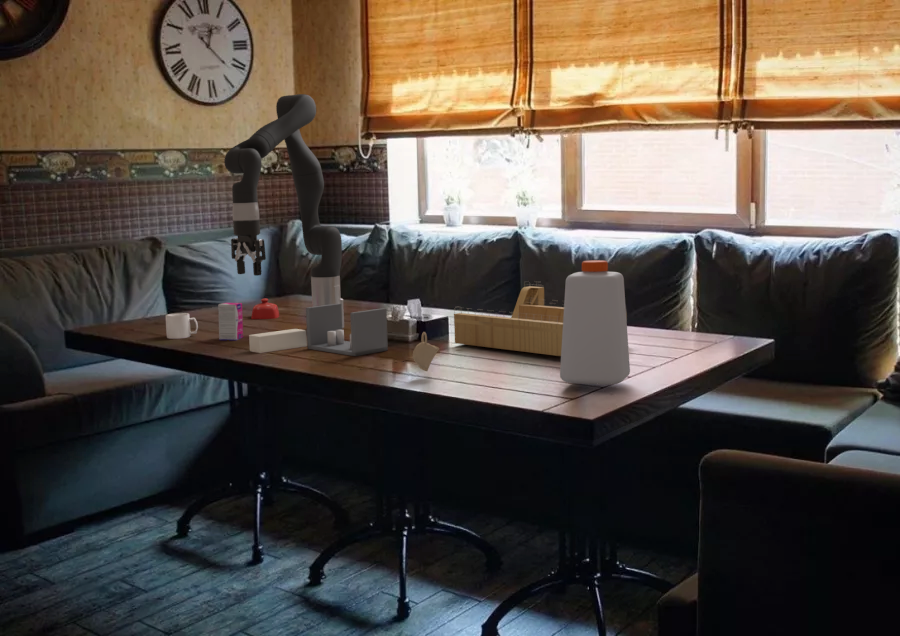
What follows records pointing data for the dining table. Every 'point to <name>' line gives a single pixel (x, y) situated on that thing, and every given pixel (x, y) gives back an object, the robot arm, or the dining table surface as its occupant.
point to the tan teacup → (424, 353)
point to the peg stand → (329, 333)
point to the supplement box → (230, 321)
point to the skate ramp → (516, 326)
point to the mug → (179, 325)
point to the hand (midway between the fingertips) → (249, 274)
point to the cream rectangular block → (277, 340)
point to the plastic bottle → (594, 327)
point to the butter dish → (265, 310)
